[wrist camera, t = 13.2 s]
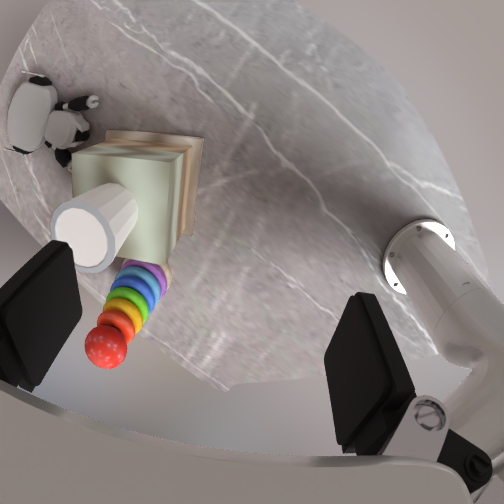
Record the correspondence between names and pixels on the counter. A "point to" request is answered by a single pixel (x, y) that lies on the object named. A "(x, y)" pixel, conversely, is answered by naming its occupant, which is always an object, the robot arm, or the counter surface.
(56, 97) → the robot toy
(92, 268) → the shot glass
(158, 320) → the counter surface
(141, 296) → the stacking toy
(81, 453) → the robot arm
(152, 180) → the patterned box
